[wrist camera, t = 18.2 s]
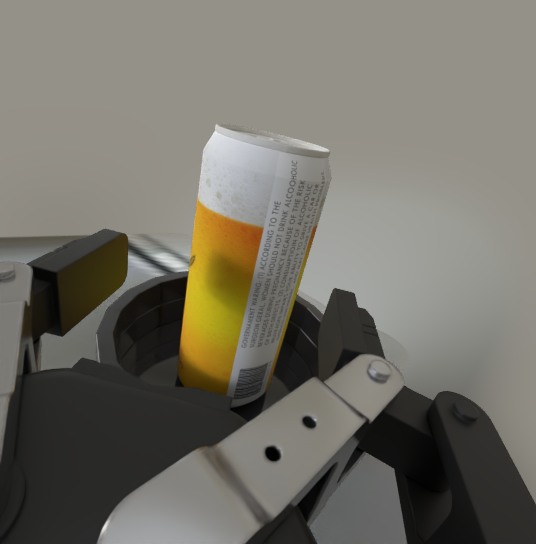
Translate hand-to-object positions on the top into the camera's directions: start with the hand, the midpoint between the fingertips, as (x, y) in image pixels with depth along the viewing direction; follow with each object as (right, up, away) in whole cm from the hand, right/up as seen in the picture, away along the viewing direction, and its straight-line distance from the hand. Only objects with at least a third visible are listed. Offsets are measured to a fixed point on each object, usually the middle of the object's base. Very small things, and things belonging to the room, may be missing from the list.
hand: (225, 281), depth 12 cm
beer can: (-1, -7, +9) cm, 11 cm away
